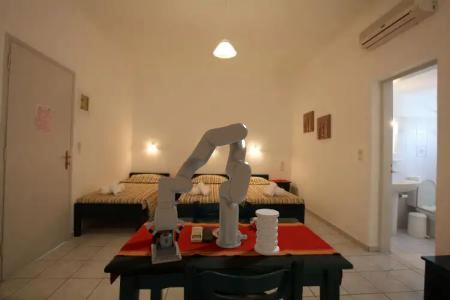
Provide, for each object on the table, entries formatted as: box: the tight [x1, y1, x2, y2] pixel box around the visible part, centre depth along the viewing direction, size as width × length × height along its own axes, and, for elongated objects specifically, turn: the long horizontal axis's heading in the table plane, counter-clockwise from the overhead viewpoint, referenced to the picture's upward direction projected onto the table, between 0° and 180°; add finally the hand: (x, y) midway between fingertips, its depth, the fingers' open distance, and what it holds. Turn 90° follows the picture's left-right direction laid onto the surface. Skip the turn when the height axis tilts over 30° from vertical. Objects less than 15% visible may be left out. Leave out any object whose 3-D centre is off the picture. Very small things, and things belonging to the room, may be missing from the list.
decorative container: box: [253, 208, 280, 256], centre depth 111 cm, size 12×12×18 cm
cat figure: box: [250, 216, 258, 229], centre depth 138 cm, size 10×9×25 cm
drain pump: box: [160, 232, 172, 249], centre depth 106 cm, size 5×6×8 cm
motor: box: [152, 208, 175, 242], centre depth 121 cm, size 10×9×20 cm
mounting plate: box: [150, 240, 183, 265], centre depth 106 cm, size 12×18×4 cm, turn 18°
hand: (165, 242), depth 106 cm, fingers open, 9 cm apart
